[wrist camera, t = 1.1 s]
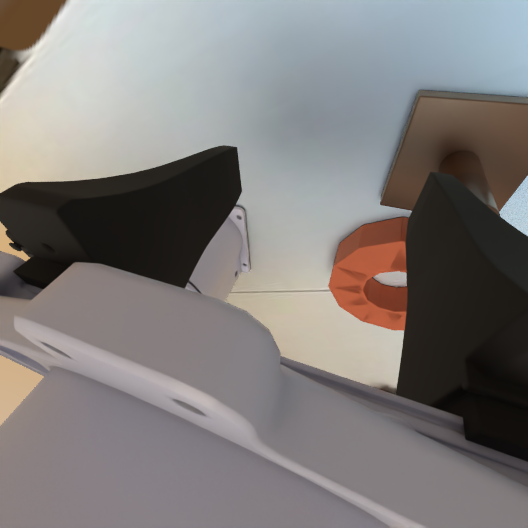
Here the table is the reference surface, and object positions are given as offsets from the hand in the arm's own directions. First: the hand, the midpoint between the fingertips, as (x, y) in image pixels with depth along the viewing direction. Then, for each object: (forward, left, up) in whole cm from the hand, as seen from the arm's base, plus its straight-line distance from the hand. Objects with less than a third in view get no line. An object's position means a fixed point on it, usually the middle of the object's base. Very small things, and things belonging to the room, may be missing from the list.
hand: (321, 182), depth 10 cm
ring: (-13, -7, -10) cm, 18 cm away
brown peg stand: (-2, -7, -10) cm, 12 cm away
